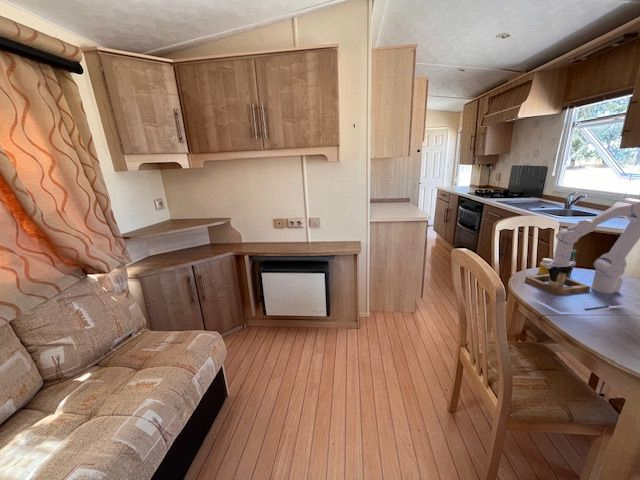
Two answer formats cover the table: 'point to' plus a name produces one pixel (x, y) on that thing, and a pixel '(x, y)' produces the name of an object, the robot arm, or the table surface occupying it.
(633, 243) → the robot arm
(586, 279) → the table surface
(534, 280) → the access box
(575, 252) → the can
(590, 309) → the place mat
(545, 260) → the supplement bottle
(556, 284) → the beech block
